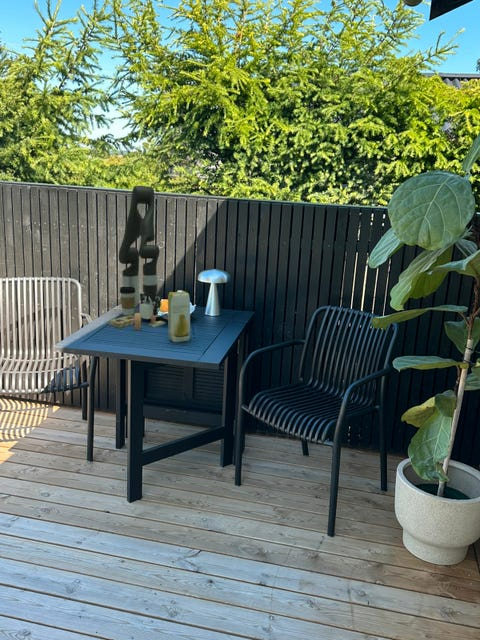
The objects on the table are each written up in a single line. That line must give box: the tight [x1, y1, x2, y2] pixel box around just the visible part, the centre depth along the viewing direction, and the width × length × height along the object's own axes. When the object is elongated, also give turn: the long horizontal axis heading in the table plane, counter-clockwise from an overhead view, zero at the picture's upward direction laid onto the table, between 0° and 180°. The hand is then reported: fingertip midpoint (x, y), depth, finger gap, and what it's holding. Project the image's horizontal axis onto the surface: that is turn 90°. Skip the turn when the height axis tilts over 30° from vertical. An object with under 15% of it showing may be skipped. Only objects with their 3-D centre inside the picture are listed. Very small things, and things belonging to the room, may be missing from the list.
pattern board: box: [148, 315, 166, 328], centre depth 296 cm, size 4×8×5 cm, turn 141°
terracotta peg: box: [134, 312, 142, 331], centre depth 287 cm, size 3×3×8 cm
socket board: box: [108, 315, 135, 329], centre depth 297 cm, size 14×8×2 cm, turn 141°
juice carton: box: [167, 290, 191, 343], centre depth 269 cm, size 9×8×24 cm
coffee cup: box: [119, 286, 135, 316], centre depth 314 cm, size 8×8×15 cm
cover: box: [139, 302, 163, 320], centre depth 304 cm, size 6×10×7 cm, turn 141°
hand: (150, 314), depth 305 cm, fingers closed on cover, 6 cm apart
